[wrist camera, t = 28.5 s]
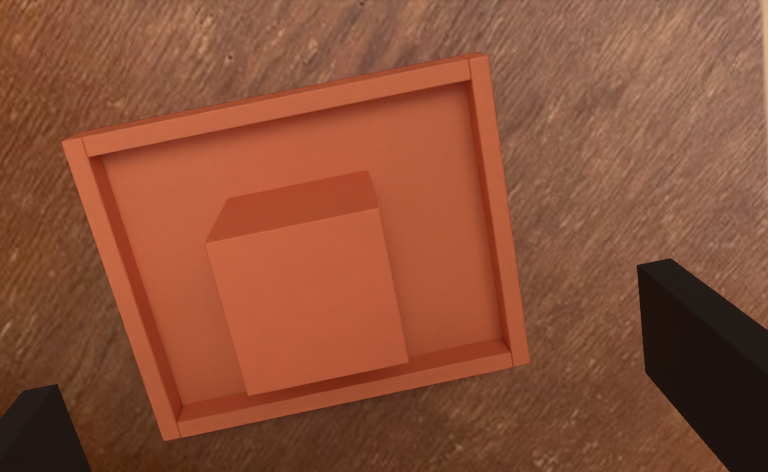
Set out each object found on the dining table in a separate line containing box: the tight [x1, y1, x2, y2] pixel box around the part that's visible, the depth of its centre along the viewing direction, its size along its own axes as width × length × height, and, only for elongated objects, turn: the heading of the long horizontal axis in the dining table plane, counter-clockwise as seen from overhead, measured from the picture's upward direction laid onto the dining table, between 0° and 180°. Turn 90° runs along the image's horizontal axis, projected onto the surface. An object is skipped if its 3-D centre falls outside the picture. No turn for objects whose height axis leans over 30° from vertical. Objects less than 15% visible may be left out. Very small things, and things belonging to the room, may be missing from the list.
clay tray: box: [62, 52, 530, 441], centre depth 29 cm, size 17×14×2 cm
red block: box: [204, 170, 409, 396], centre depth 27 cm, size 6×6×6 cm
